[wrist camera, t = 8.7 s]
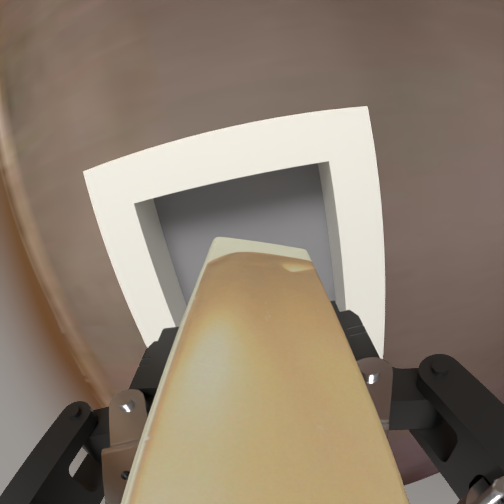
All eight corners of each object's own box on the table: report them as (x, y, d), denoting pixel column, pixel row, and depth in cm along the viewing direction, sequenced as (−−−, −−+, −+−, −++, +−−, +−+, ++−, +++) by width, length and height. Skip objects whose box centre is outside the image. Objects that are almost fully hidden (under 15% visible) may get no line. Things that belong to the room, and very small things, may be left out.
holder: (347, 111, 16) (367, 106, 13) (368, 332, 22) (382, 361, 19) (110, 164, 17) (83, 171, 14) (180, 364, 23) (171, 395, 20)
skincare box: (284, 353, 16) (308, 584, 4) (202, 344, 16) (159, 578, 4) (310, 240, 13) (436, 533, 2) (212, 227, 13) (102, 540, 2)
